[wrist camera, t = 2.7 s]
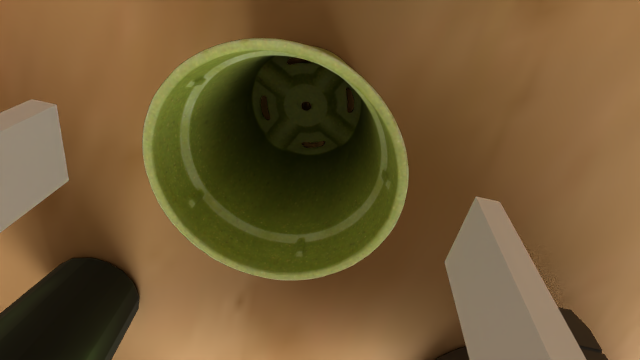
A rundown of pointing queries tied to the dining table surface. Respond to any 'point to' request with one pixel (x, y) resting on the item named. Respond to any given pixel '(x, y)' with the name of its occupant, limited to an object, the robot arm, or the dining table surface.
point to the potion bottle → (70, 314)
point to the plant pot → (275, 159)
